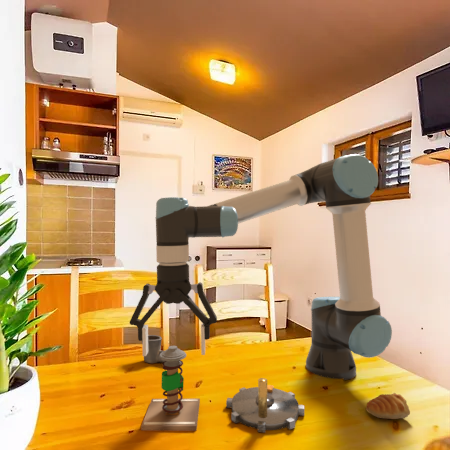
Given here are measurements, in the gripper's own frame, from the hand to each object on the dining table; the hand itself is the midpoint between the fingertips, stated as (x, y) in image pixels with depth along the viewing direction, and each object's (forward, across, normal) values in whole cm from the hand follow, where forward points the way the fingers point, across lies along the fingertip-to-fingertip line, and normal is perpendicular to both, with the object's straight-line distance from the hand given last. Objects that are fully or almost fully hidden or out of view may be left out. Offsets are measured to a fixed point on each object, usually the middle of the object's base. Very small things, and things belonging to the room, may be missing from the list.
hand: (174, 353), depth 82 cm
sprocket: (+15, -21, -2) cm, 26 cm away
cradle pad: (+14, +1, 0) cm, 15 cm away
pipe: (+15, +10, -32) cm, 37 cm away
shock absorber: (+14, +1, 0) cm, 14 cm away
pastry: (+16, -48, -2) cm, 51 cm away
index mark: (+15, -24, -12) cm, 31 cm away
